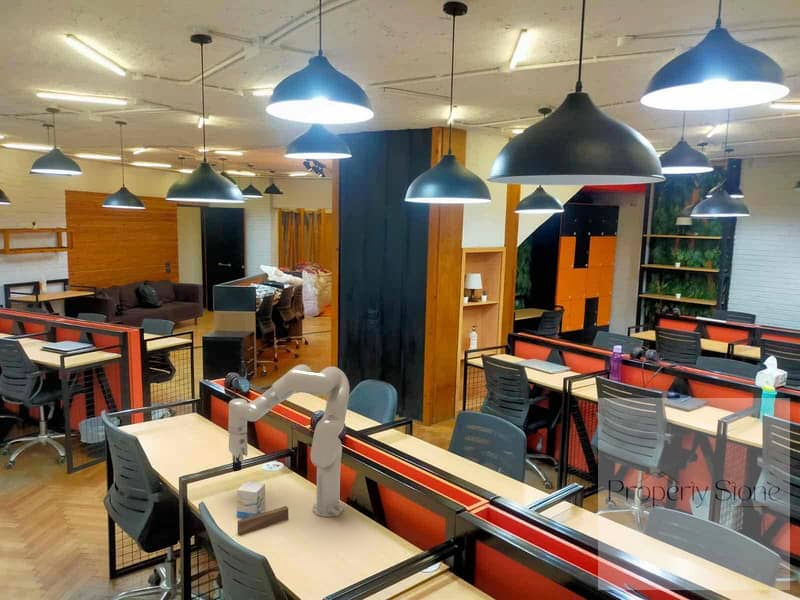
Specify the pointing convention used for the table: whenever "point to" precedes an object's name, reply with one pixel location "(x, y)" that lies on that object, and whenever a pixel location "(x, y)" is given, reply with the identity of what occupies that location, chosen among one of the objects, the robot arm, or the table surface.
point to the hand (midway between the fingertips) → (236, 470)
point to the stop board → (262, 520)
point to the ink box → (250, 499)
